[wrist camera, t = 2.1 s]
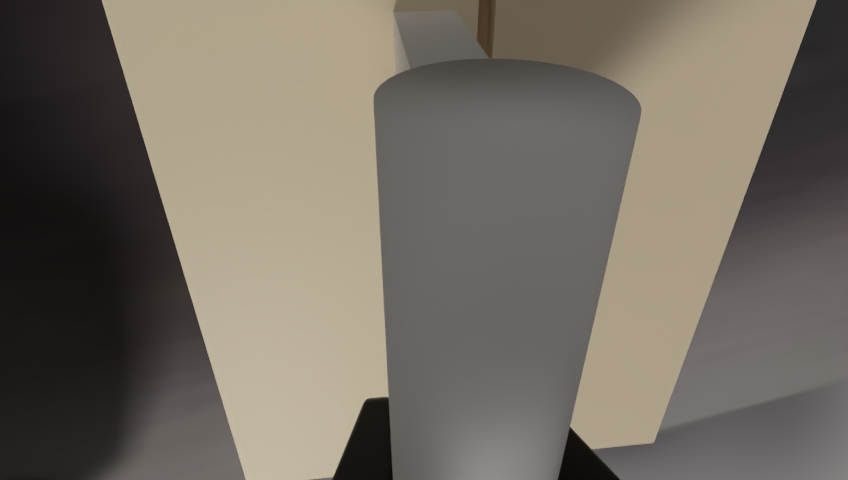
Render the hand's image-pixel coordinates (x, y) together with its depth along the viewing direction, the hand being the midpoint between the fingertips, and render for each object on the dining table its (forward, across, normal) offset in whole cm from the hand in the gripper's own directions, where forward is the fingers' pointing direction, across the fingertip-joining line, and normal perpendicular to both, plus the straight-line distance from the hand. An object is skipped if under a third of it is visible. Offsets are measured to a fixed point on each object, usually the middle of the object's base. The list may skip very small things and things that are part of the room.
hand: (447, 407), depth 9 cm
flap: (+4, +2, 0) cm, 4 cm away
